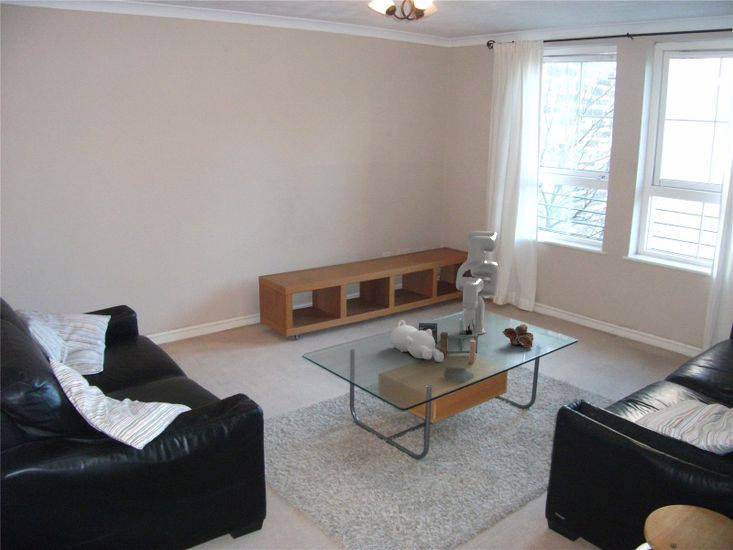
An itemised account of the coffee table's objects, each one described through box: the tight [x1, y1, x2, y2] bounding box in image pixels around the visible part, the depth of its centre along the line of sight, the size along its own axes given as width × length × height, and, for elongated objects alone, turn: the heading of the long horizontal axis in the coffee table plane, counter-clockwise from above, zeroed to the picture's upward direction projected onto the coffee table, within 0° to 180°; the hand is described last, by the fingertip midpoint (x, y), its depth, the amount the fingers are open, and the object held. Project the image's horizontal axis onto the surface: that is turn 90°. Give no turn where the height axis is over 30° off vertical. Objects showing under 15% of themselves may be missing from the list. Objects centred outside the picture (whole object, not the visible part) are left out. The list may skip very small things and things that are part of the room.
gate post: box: [439, 331, 449, 360], centre depth 349 cm, size 3×3×14 cm
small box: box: [418, 322, 438, 345], centre depth 373 cm, size 11×6×10 cm, turn 84°
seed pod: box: [501, 323, 534, 348], centre depth 369 cm, size 14×18×16 cm
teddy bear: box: [389, 319, 445, 363], centre depth 354 cm, size 19×18×35 cm
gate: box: [447, 334, 479, 355], centre depth 352 cm, size 18×2×11 cm, turn 94°
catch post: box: [468, 339, 476, 364], centre depth 343 cm, size 2×2×12 cm
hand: (468, 337), depth 354 cm, fingers closed
